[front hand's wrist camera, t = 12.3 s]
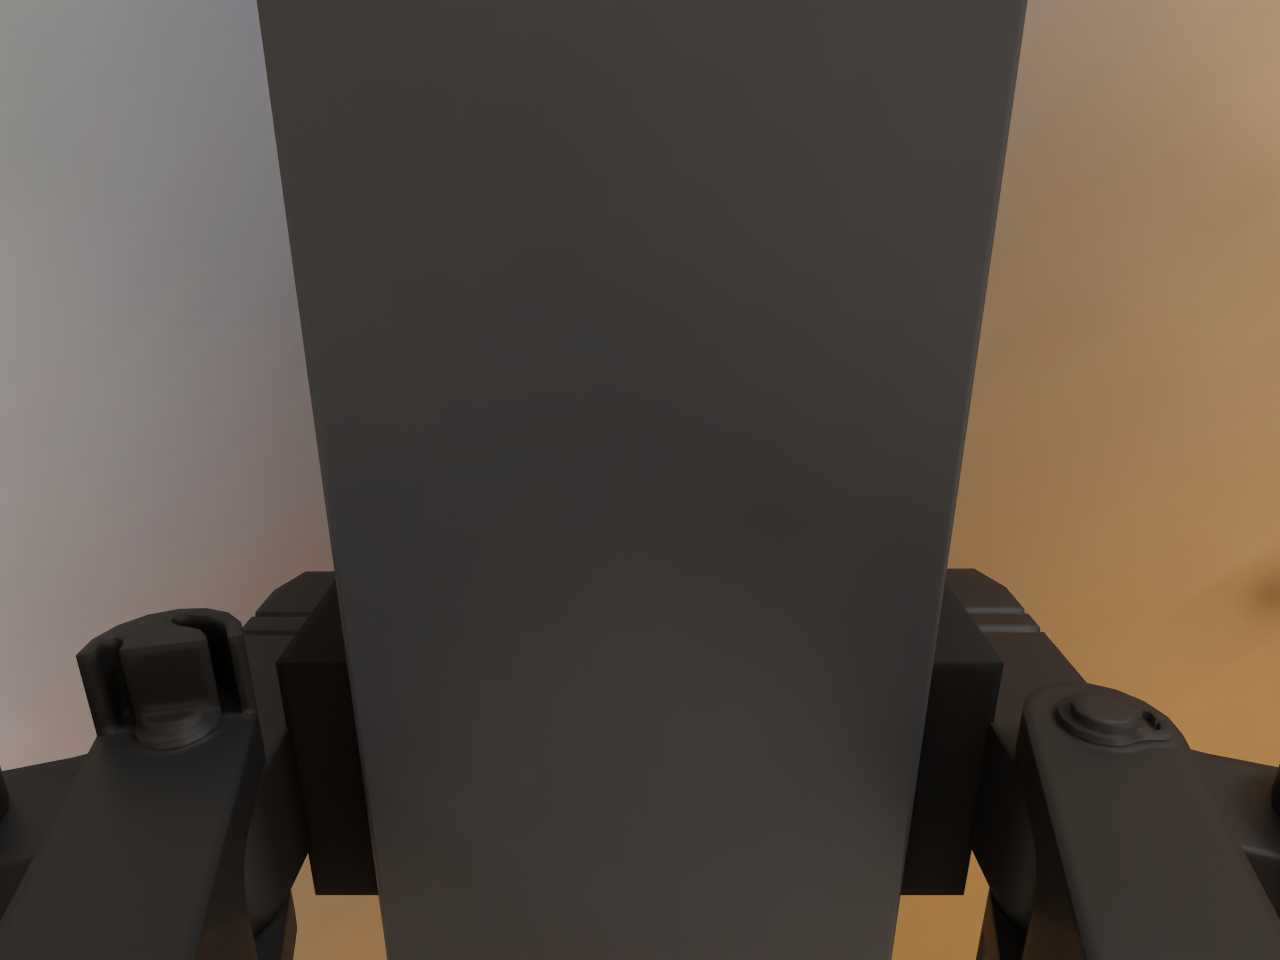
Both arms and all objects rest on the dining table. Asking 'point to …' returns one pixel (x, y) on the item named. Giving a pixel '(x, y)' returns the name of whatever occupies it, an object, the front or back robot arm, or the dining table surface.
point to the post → (640, 446)
